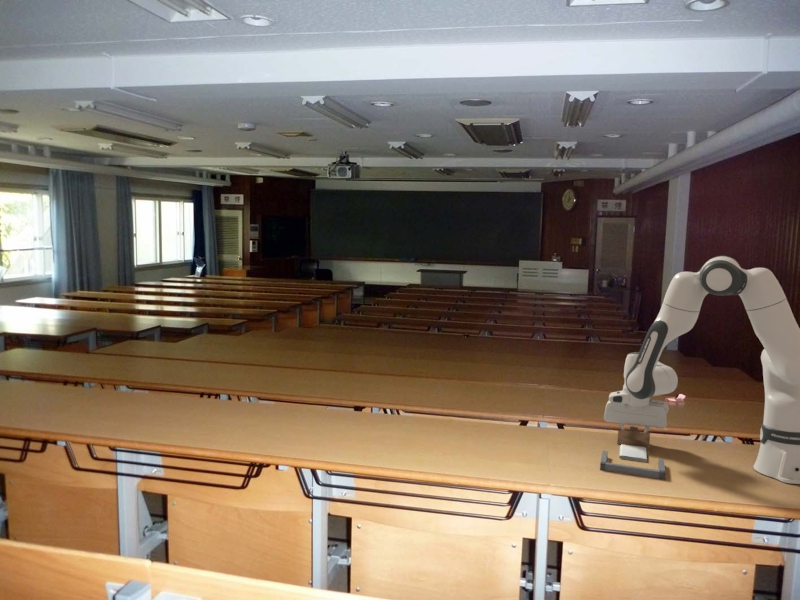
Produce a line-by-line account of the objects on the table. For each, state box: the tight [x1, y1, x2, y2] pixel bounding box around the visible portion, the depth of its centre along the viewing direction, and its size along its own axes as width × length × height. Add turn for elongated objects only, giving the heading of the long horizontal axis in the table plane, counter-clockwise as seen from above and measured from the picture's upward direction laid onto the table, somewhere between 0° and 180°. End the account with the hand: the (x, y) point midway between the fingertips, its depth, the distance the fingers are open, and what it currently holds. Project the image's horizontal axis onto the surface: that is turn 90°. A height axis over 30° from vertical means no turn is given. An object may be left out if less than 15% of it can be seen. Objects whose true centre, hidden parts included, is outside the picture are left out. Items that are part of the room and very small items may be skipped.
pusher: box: [617, 425, 651, 449], centre depth 211 cm, size 10×7×5 cm
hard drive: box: [618, 444, 648, 463], centre depth 200 cm, size 2×8×12 cm
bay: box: [599, 450, 666, 480], centre depth 187 cm, size 18×12×2 cm
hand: (633, 437), depth 213 cm, fingers open, 5 cm apart
